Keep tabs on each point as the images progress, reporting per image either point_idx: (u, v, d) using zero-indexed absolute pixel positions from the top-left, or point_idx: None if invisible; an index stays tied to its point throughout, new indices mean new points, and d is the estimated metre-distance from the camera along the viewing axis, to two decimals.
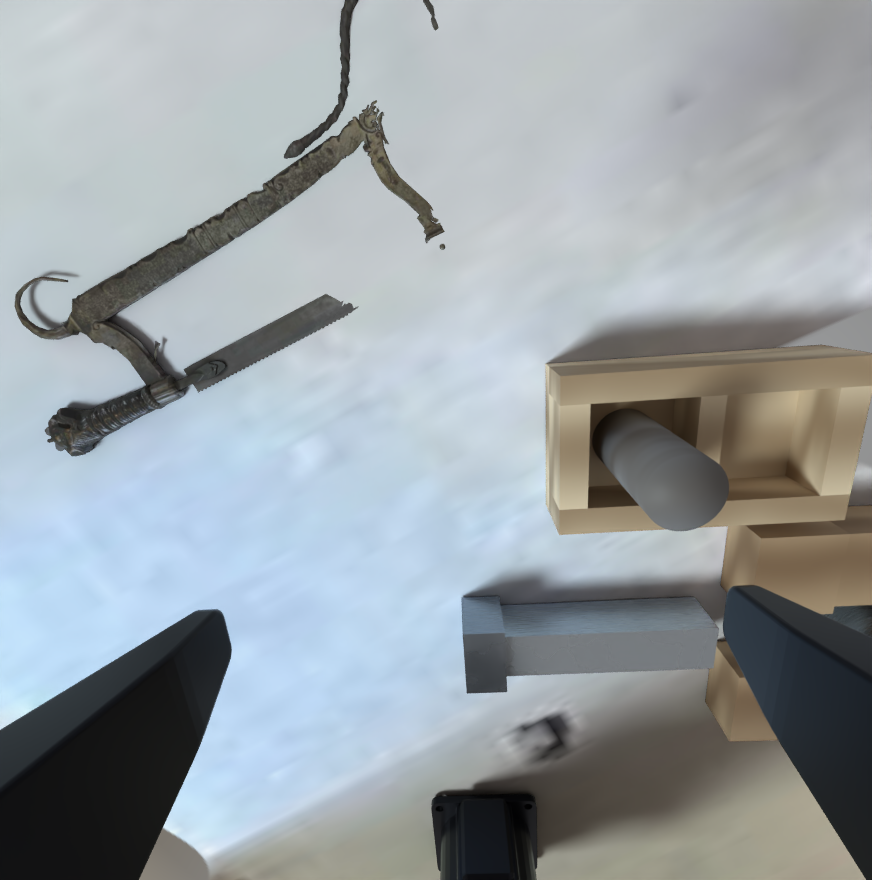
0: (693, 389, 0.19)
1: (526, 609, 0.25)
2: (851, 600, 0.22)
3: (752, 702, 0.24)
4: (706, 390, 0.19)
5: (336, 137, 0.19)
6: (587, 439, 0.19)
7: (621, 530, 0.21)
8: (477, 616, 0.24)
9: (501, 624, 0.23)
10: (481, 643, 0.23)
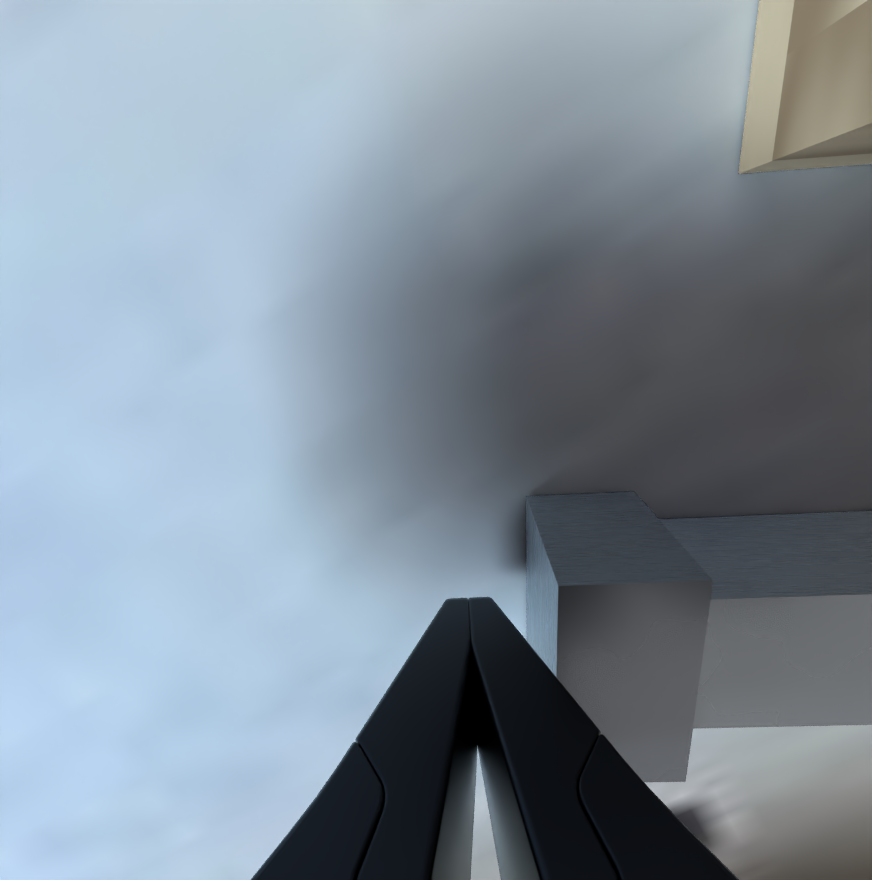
0: None
1: (718, 528, 0.09)
2: None
3: None
4: None
5: None
6: None
7: None
8: (591, 535, 0.07)
9: (684, 556, 0.07)
10: (624, 618, 0.06)
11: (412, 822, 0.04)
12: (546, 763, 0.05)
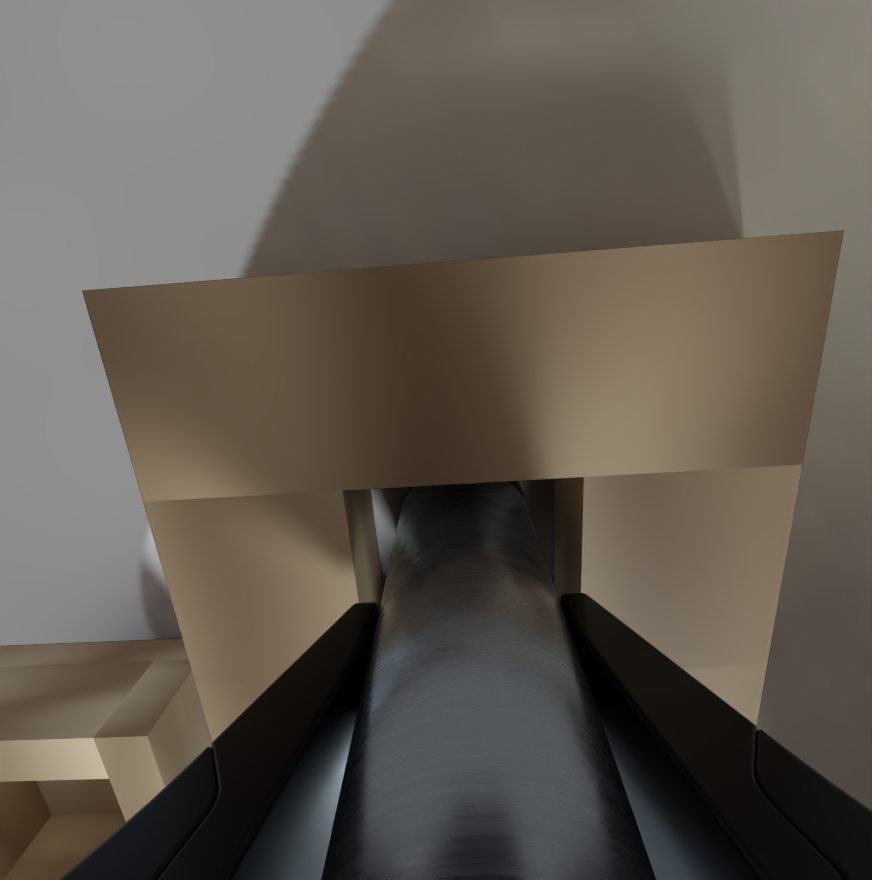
0: None
1: None
2: None
3: None
4: None
5: None
6: None
7: None
8: None
9: None
10: None
11: (237, 827, 0.04)
12: (715, 758, 0.05)
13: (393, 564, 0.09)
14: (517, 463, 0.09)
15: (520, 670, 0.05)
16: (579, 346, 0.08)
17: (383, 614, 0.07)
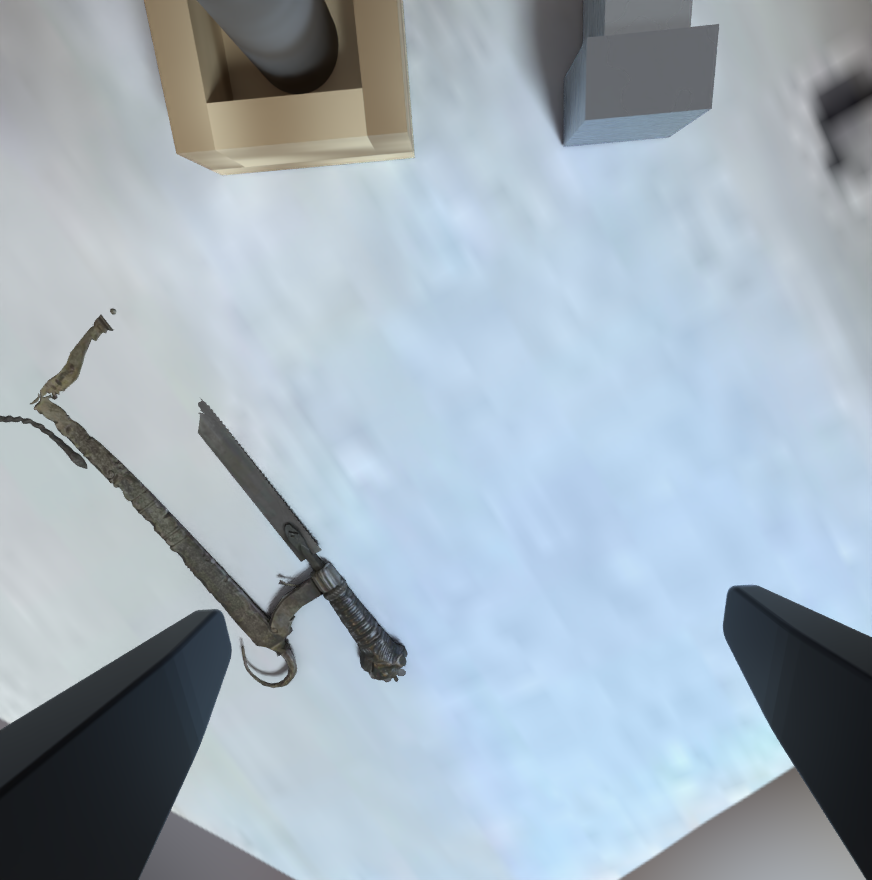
0: None
1: (586, 19, 0.15)
2: None
3: None
4: None
5: (55, 424, 0.20)
6: (257, 102, 0.14)
7: (396, 21, 0.13)
8: (574, 104, 0.15)
9: (581, 51, 0.14)
10: (604, 82, 0.14)
11: None
12: None
13: None
14: None
15: None
16: None
17: None
